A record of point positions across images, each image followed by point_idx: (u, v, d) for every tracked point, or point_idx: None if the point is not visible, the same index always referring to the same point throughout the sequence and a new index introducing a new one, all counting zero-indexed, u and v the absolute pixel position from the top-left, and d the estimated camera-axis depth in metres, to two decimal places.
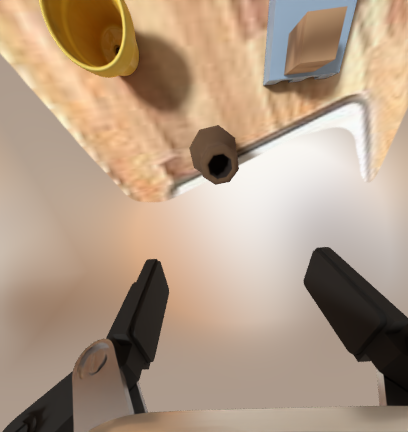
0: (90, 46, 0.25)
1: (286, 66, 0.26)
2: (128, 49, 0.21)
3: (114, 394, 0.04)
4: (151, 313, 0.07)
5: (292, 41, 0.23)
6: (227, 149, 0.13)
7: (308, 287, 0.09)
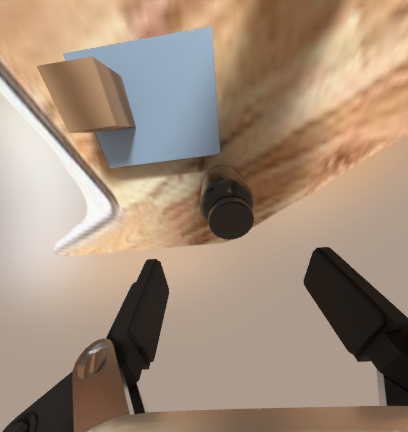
0: None
1: None
2: None
3: (114, 394, 0.04)
4: (151, 313, 0.07)
5: None
6: None
7: (308, 287, 0.09)
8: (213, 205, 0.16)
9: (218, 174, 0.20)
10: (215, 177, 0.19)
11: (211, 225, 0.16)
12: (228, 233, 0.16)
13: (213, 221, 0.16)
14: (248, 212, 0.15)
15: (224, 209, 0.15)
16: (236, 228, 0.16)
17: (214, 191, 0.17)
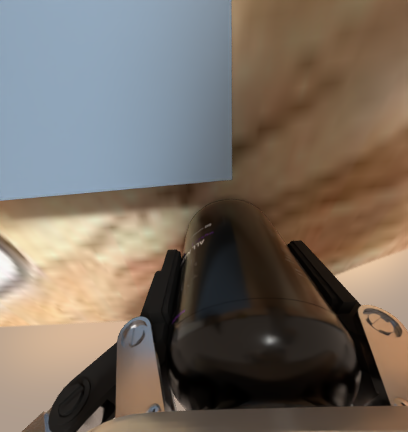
0: None
1: None
2: None
3: (149, 370, 0.05)
4: None
5: None
6: None
7: None
8: None
9: (227, 245, 0.07)
10: (218, 261, 0.06)
11: None
12: None
13: None
14: None
15: None
16: None
17: (217, 370, 0.04)
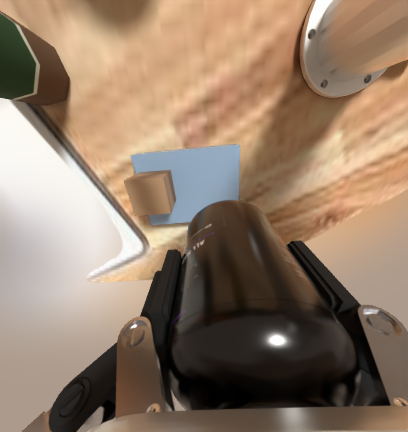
0: None
1: (143, 172, 0.23)
2: None
3: (149, 370, 0.05)
4: None
5: (158, 172, 0.22)
6: None
7: None
8: None
9: (227, 245, 0.07)
10: (218, 262, 0.06)
11: None
12: None
13: None
14: None
15: None
16: None
17: (218, 371, 0.04)
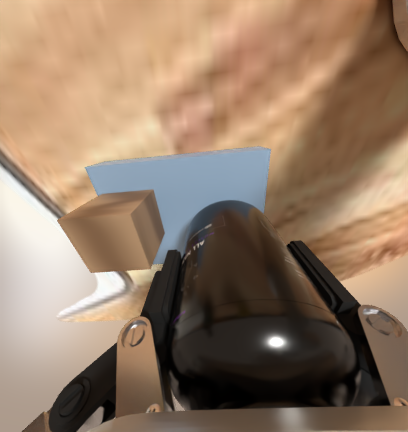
0: None
1: (108, 195, 0.14)
2: None
3: (149, 370, 0.05)
4: None
5: (130, 197, 0.13)
6: None
7: None
8: None
9: (227, 246, 0.07)
10: (218, 262, 0.06)
11: None
12: None
13: None
14: None
15: None
16: None
17: (217, 372, 0.04)
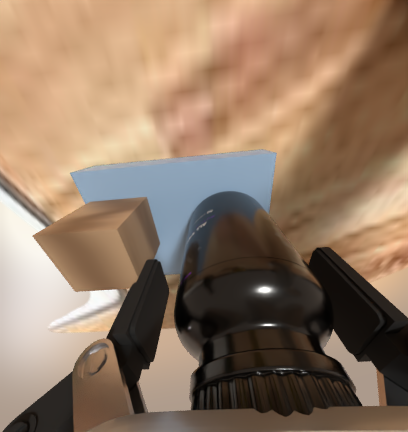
0: None
1: (96, 203, 0.13)
2: None
3: (114, 394, 0.04)
4: (151, 313, 0.07)
5: (120, 206, 0.11)
6: None
7: None
8: (212, 405, 0.04)
9: (226, 223, 0.08)
10: (219, 235, 0.07)
11: None
12: None
13: None
14: None
15: None
16: None
17: (218, 307, 0.05)
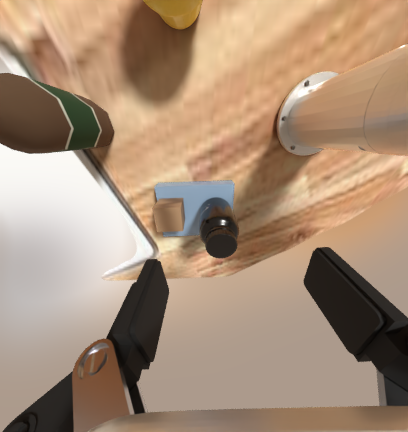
0: None
1: (163, 199, 0.31)
2: None
3: (114, 394, 0.04)
4: (151, 313, 0.07)
5: (174, 200, 0.30)
6: None
7: (308, 287, 0.09)
8: (209, 234, 0.23)
9: (214, 207, 0.27)
10: (212, 210, 0.26)
11: (207, 248, 0.23)
12: (218, 254, 0.23)
13: (209, 245, 0.22)
14: (233, 241, 0.22)
15: (217, 238, 0.22)
16: (224, 251, 0.23)
17: (211, 222, 0.24)
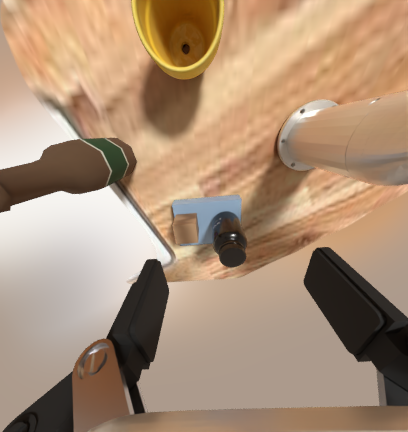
0: (180, 4, 0.21)
1: (179, 215, 0.36)
2: (162, 68, 0.20)
3: (114, 394, 0.04)
4: (151, 313, 0.07)
5: (190, 216, 0.35)
6: None
7: (308, 287, 0.09)
8: (222, 247, 0.27)
9: (225, 222, 0.31)
10: (223, 225, 0.30)
11: (221, 259, 0.27)
12: (230, 264, 0.28)
13: (222, 257, 0.27)
14: (243, 253, 0.26)
15: (229, 251, 0.26)
16: (235, 261, 0.27)
17: (223, 237, 0.28)
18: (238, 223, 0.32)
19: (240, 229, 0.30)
